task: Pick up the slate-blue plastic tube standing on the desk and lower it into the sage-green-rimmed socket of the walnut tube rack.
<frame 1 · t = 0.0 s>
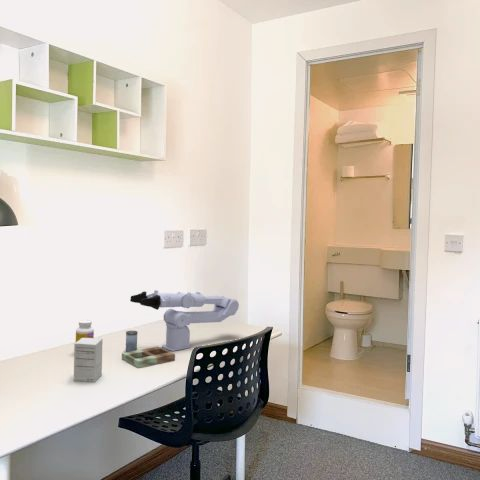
hand: (135, 300, 184), 22 cm above the table, tool horizontal, fingers open, 7 cm apart
supplement bottle: (84, 354, 184), on the table
tube: (131, 351, 190), on the table
supplement box: (87, 378, 159), on the table
rack: (148, 359, 181), on the table
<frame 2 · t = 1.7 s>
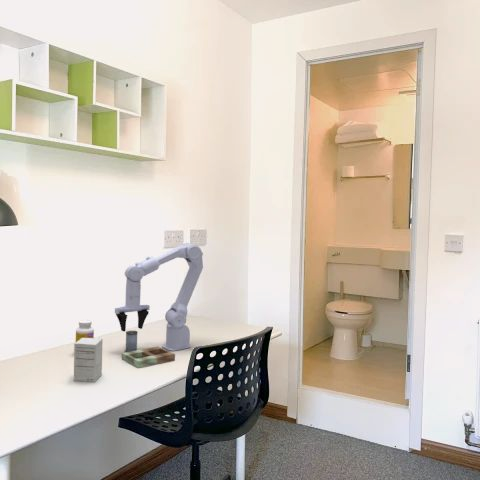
hand: (131, 329, 190), 9 cm above the table, tool pointing down, fingers open, 7 cm apart
nothing on the table moved.
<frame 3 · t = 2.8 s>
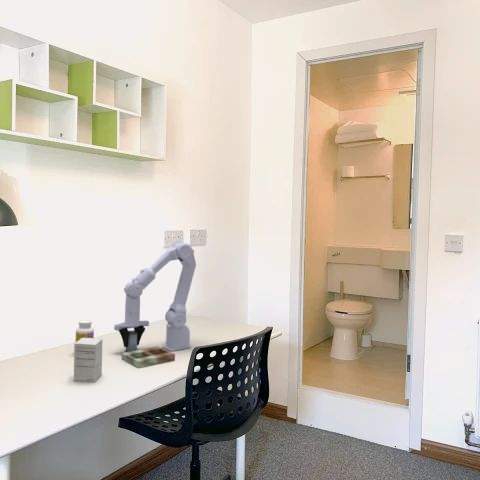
hand: (131, 345, 190), 2 cm above the table, tool pointing down, fingers closed on tube, 4 cm apart
tube: (131, 351, 190), on the table, touching gripper
everything else where it was.
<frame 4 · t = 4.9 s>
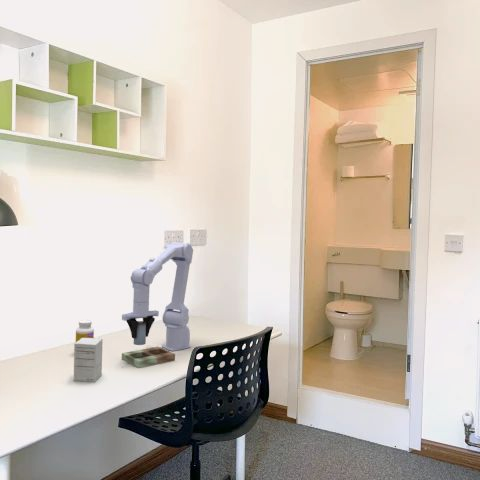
hand: (139, 337, 178), 9 cm above the table, tool pointing down, fingers closed on tube, 4 cm apart
tube: (139, 343, 178), point 7 cm above the table, touching gripper
everything else where it was.
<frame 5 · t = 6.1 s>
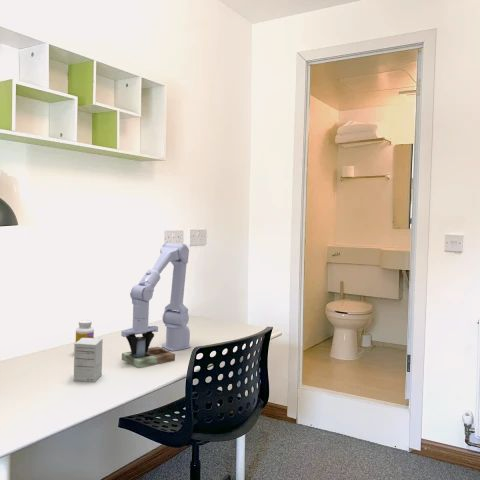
hand: (139, 352, 178), 3 cm above the table, tool pointing down, fingers closed on tube, 4 cm apart
tube: (139, 359, 178), point 1 cm above the table, touching gripper
everything else where it was.
when the fingers open (3 cm above the table, at t = 6.9 s): tube stays where it is, resting in rack.
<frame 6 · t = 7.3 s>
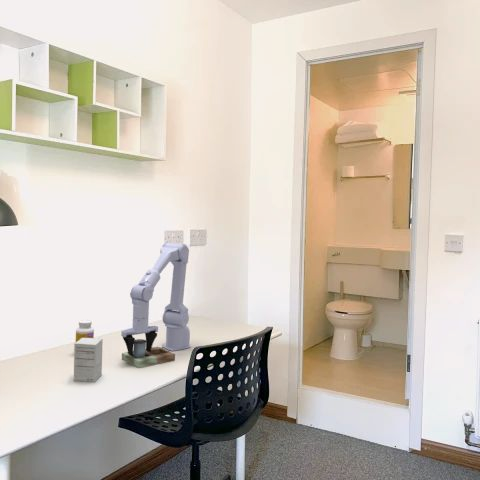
hand: (139, 352, 178), 3 cm above the table, tool pointing down, fingers open, 7 cm apart
tube: (139, 361, 178), resting in rack
everything else where it was.
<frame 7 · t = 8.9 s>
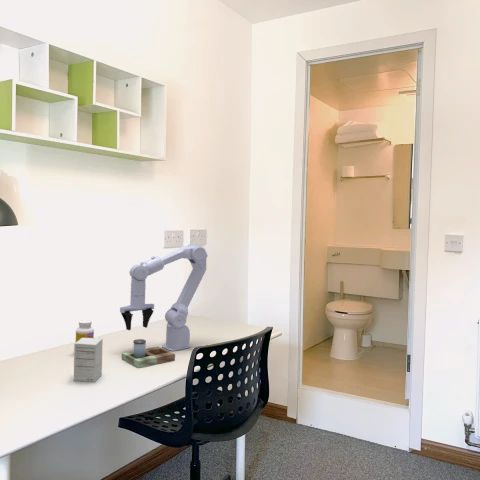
hand: (136, 328, 190), 9 cm above the table, tool pointing down, fingers open, 7 cm apart
nothing on the table moved.
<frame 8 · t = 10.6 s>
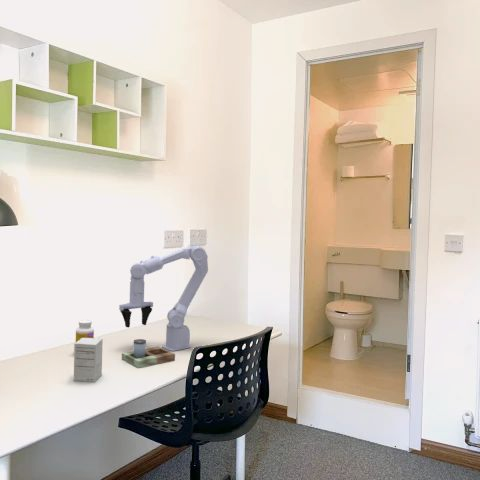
hand: (135, 325, 194), 9 cm above the table, tool pointing down, fingers open, 7 cm apart
nothing on the table moved.
at the end: tube 0.1 cm from the target spot on the rack, point 0.0 cm above the rack's base; tube tilted 1°; the gripper is holding nothing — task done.
